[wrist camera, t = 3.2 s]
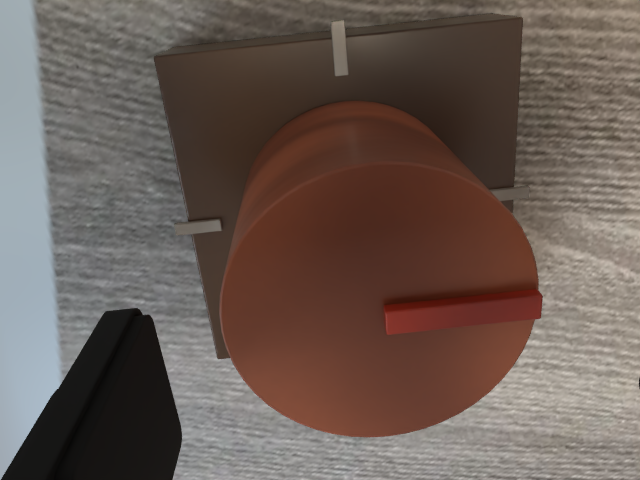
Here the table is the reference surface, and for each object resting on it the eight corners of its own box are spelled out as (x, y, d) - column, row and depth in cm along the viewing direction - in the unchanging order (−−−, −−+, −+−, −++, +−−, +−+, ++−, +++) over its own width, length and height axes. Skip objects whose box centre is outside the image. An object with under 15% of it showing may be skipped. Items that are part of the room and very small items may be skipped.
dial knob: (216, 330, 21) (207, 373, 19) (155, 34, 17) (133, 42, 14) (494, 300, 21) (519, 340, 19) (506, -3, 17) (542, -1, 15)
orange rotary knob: (259, 313, 18) (244, 462, 12) (226, 113, 15) (187, 186, 10) (458, 292, 18) (535, 432, 12) (460, 88, 15) (560, 147, 10)
